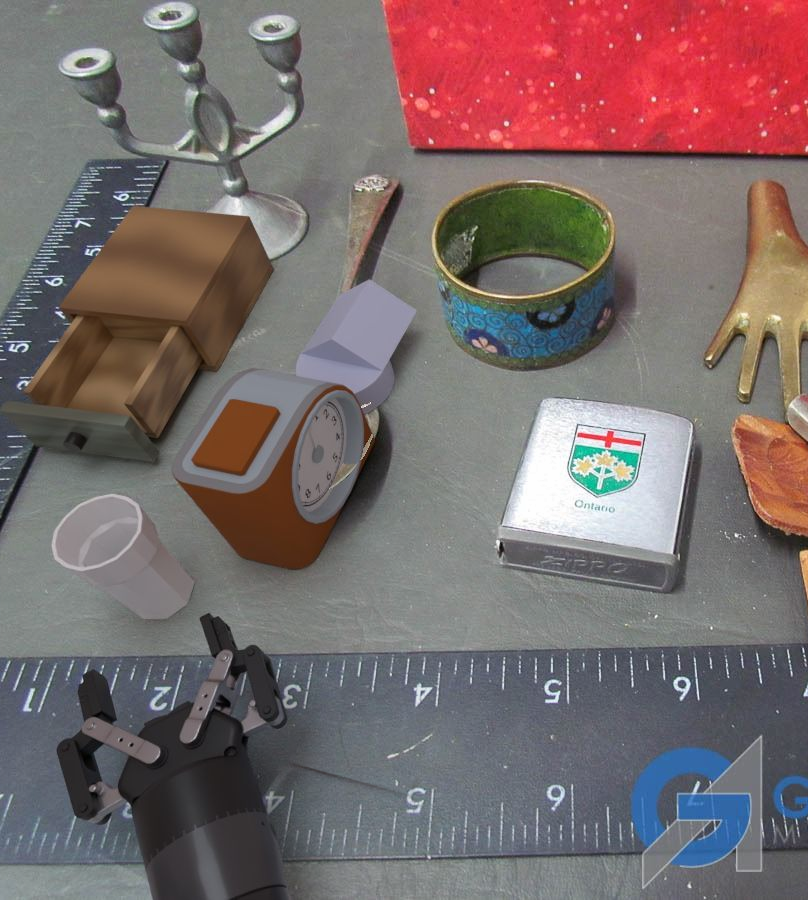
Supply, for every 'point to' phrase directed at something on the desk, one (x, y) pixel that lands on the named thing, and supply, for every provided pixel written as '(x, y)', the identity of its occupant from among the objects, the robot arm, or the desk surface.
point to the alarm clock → (274, 463)
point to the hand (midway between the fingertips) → (152, 646)
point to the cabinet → (177, 276)
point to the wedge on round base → (358, 343)
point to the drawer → (107, 387)
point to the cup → (122, 556)
